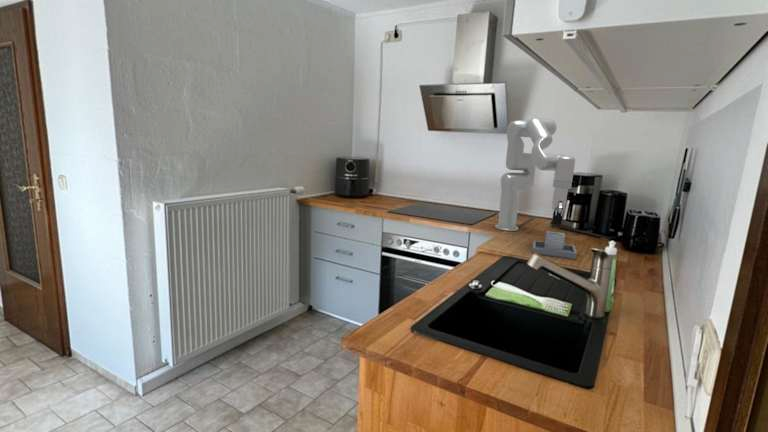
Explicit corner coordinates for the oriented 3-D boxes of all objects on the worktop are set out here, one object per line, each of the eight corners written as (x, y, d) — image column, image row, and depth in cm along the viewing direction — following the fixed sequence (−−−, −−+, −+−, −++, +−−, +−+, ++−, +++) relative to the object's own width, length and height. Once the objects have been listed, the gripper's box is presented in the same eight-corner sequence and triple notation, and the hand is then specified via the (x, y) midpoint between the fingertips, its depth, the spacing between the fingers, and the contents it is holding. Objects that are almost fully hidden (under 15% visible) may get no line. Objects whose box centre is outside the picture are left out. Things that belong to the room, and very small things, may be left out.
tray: (532, 246, 197) (533, 240, 196) (573, 251, 191) (574, 245, 190) (532, 254, 184) (533, 248, 183) (576, 259, 178) (577, 253, 177)
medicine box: (562, 251, 188) (564, 233, 186) (562, 253, 184) (565, 235, 182) (544, 248, 191) (546, 230, 189) (544, 251, 187) (546, 232, 185)
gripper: (552, 181, 190) (547, 216, 194) (554, 186, 174) (548, 225, 178) (569, 182, 188) (564, 218, 192) (573, 188, 172) (567, 227, 176)
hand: (556, 221), depth 185 cm, fingers open, 9 cm apart
